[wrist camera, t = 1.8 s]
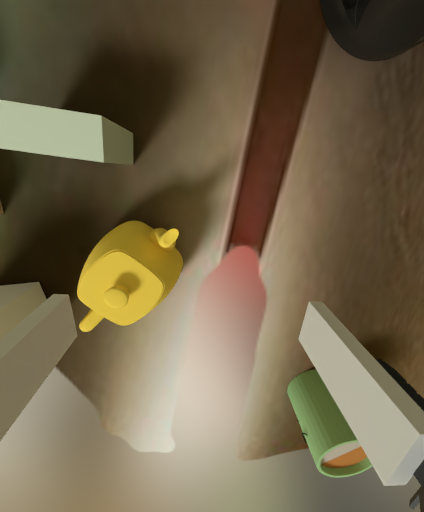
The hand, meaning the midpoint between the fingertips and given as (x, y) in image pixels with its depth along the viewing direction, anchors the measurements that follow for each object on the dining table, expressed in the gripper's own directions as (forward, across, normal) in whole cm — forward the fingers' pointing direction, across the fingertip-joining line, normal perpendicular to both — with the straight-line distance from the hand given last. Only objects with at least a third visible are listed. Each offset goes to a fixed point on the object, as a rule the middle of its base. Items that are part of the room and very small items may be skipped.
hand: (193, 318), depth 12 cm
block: (+20, -13, +10) cm, 26 cm away
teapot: (+20, -8, -4) cm, 22 cm away
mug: (+20, +26, -34) cm, 47 cm away
